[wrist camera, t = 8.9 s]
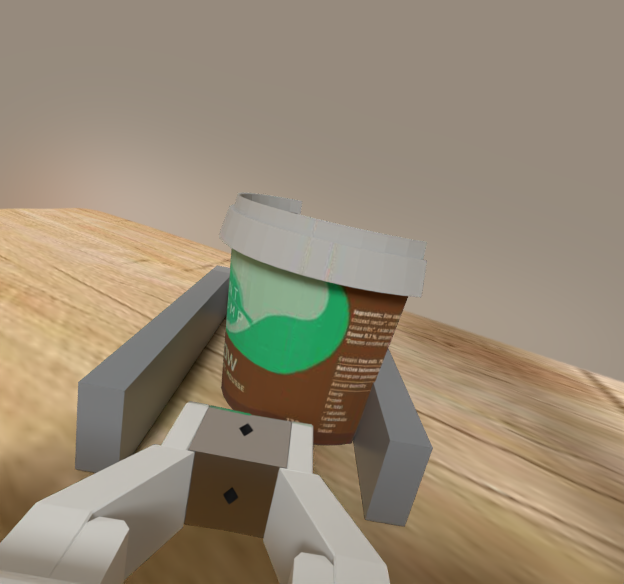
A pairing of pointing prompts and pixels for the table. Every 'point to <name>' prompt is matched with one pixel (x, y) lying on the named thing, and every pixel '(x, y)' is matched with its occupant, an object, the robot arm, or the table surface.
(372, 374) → the food container
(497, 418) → the table surface
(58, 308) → the table surface
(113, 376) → the grey rectangular tray
